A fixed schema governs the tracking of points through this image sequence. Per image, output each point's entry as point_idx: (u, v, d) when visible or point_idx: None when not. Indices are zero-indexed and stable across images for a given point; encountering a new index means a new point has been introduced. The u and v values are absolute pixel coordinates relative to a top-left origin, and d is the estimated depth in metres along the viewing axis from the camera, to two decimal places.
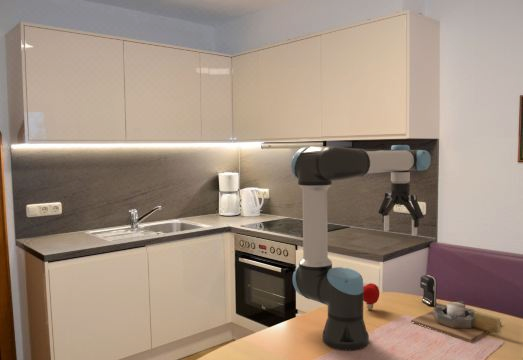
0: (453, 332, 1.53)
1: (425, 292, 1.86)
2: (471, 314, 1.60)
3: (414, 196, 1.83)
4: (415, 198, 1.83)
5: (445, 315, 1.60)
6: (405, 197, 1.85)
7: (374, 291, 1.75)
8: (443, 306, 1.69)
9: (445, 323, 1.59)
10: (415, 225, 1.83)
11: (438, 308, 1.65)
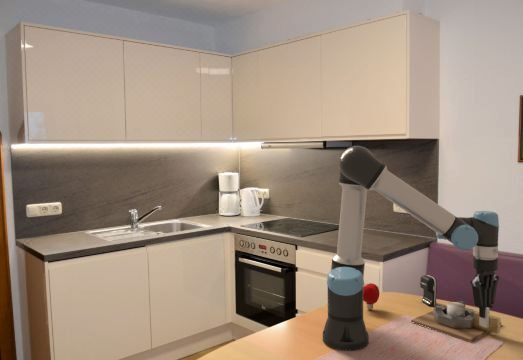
0: (453, 332, 1.53)
1: (425, 292, 1.86)
2: (471, 314, 1.60)
3: (473, 283, 1.49)
4: (475, 285, 1.49)
5: (445, 315, 1.60)
6: None
7: (374, 291, 1.75)
8: (443, 306, 1.69)
9: (445, 323, 1.59)
10: None
11: (438, 308, 1.65)
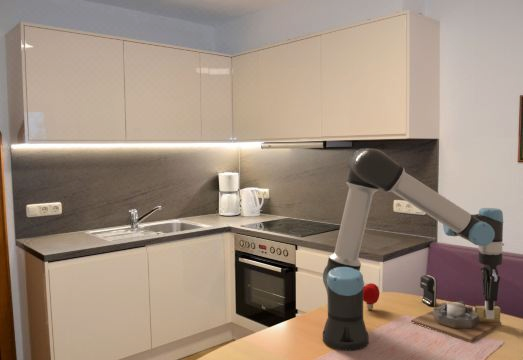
0: (453, 332, 1.53)
1: (425, 292, 1.86)
2: (469, 310, 1.64)
3: (496, 279, 1.53)
4: (496, 281, 1.54)
5: (459, 318, 1.57)
6: (489, 271, 1.57)
7: (374, 291, 1.75)
8: (437, 310, 1.65)
9: (463, 326, 1.56)
10: (488, 307, 1.59)
11: (444, 313, 1.60)
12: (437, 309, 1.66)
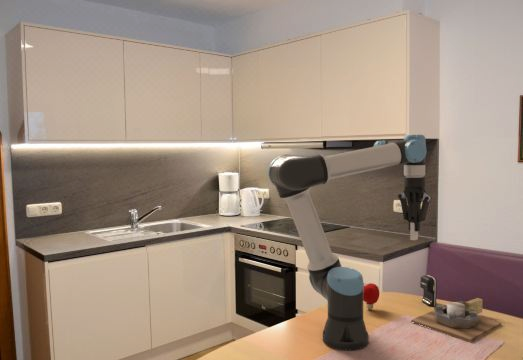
0: (453, 332, 1.53)
1: (425, 292, 1.86)
2: None
3: (429, 198, 1.63)
4: (428, 200, 1.64)
5: (469, 317, 1.58)
6: (420, 193, 1.65)
7: (374, 291, 1.75)
8: (440, 314, 1.61)
9: (474, 324, 1.57)
10: (416, 229, 1.67)
11: (454, 315, 1.58)
12: (439, 313, 1.62)
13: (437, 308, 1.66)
